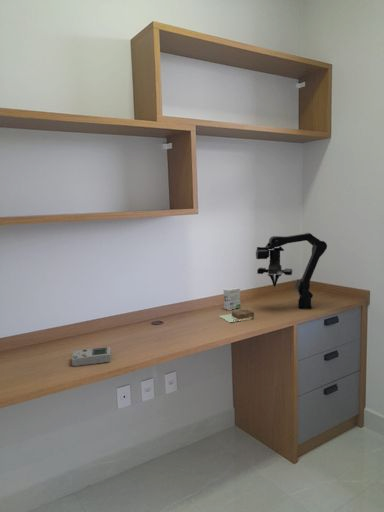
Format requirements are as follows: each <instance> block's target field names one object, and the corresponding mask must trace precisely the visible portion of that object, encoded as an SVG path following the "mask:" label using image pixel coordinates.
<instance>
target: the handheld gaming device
mask: <svg viewBox="0 0 384 512" xmlns="http://www.w3.org/2000/svg"><path fill="white" fill-rule="evenodd" d="M111 353H112V352H111V346H106V347H97V348H94V347H93V348H87V349H79V350H73V351H72V356H71V365H72V366H73V367H78V366H86V365H95V364H102V363H110V362H111V361H112V360H111V359H112V358H111Z"/></svg>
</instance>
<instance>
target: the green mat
mask: <svg viewBox="0 0 384 512" xmlns="http://www.w3.org/2000/svg"><path fill="white" fill-rule="evenodd" d="M218 317H219V318H221V319H222V318H223V320H224V319H225V322H227V321H228V322H227V323H229V322H233V320H234V319H236V318H234V319H233V316H232V313H229V314H223V315H218ZM240 320H241V319H240ZM240 320H239V321H240ZM243 320H244V319H243ZM234 321H235V320H234Z"/></svg>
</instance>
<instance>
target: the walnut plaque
mask: <svg viewBox="0 0 384 512" xmlns="http://www.w3.org/2000/svg"><path fill="white" fill-rule="evenodd" d="M231 314H232V316H233V317H235V318H237V319H245V318H251V317H252V318H254V317H255V312H253V311H251V310H249V309H248V308H245V309H236V310H231Z"/></svg>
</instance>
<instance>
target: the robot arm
mask: <svg viewBox="0 0 384 512" xmlns="http://www.w3.org/2000/svg"><path fill="white" fill-rule="evenodd" d="M305 241H307V242H308V243H309V244H310V245H311V255H310V258H309V260H308V263H307V265H306V267H305V269H304V271H303V275H302V277H301V278H300V279H297V280H296V283H295V285H294V286H295V287H294V288H295V289H294V290H295V291H296V293H298V296H299V298H298V299H297V301H298V305H297V306H298V307H299V309H302V308H311V309H312V307H313V306H312V298H313V296H314V294H313V293H312V292H311V291H310V288H311V287H310V285H311V284H310V282H311V280H312V277H313V274H314V271H315V269H316V267H317V265H318V262H319V259H320V258H321V256H322V255H324V253H325V252H326V250H327V248H328V245H327V242H325V241H324V240H320V238H317V237H316V236H314V235H313V234H312V233H310V232H306V233H300V234H293V235H287V236H280V235H274V236H271V237H270V238H269V240H268V242H267V243H266V246H261V247H260V246H257V247H256V250H255V258H256V260H267V259H268V258H269V265H268V269H267V268H266V267H258V268H257V272H256V274H258V275H263V274H265V273H267V277H269V278H270V279H271V282H272V285H273V287H274V288H275V287H276V285H277V283H278V280H279V277H281V276H282V275H283V274H284V276H292V275H293V269H292V268H284V269H282V265H281V252H284V251H285V249H284V248H283V247H282V246H285V245H286V244H291V243H298V242H305Z"/></svg>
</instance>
